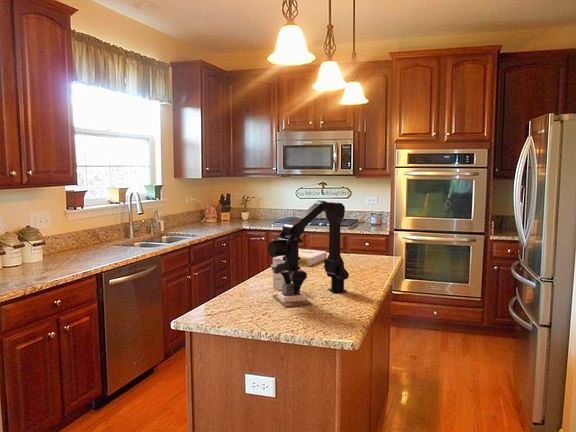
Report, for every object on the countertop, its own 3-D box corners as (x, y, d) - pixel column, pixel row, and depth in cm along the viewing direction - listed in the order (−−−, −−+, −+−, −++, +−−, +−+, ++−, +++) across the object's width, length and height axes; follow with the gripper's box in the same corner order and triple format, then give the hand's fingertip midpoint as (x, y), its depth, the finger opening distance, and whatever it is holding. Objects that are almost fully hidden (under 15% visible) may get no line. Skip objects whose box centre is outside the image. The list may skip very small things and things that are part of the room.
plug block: (283, 298, 193) (283, 283, 193) (296, 296, 195) (296, 282, 195) (286, 300, 190) (286, 286, 189) (300, 299, 192) (300, 284, 191)
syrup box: (281, 290, 209) (281, 258, 208) (272, 288, 213) (272, 257, 212) (290, 288, 213) (290, 257, 212) (281, 286, 217) (281, 255, 216)
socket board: (272, 297, 198) (272, 290, 198) (296, 295, 202) (296, 288, 202) (285, 307, 183) (285, 300, 183) (311, 305, 187) (311, 297, 187)
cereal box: (276, 254, 270) (297, 247, 295) (276, 263, 270) (297, 255, 295) (308, 258, 260) (327, 250, 285) (307, 268, 261) (326, 259, 286)
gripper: (266, 251, 197) (266, 287, 198) (280, 259, 179) (280, 299, 181) (290, 250, 200) (290, 285, 202) (307, 257, 183) (307, 296, 184)
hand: (291, 291), depth 192 cm, fingers open, 9 cm apart
